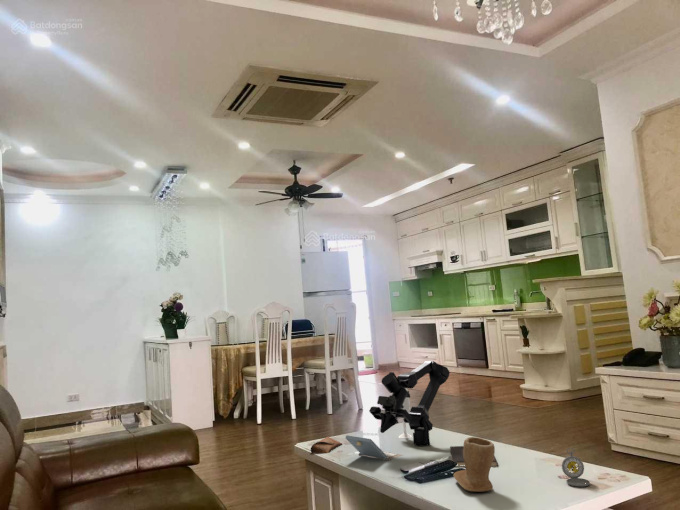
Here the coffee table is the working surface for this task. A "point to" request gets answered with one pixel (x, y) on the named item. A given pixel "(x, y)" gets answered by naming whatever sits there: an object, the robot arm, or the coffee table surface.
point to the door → (366, 447)
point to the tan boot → (476, 465)
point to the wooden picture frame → (389, 456)
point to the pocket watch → (570, 464)
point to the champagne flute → (407, 407)
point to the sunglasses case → (325, 445)
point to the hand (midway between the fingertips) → (381, 432)
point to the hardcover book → (458, 456)
